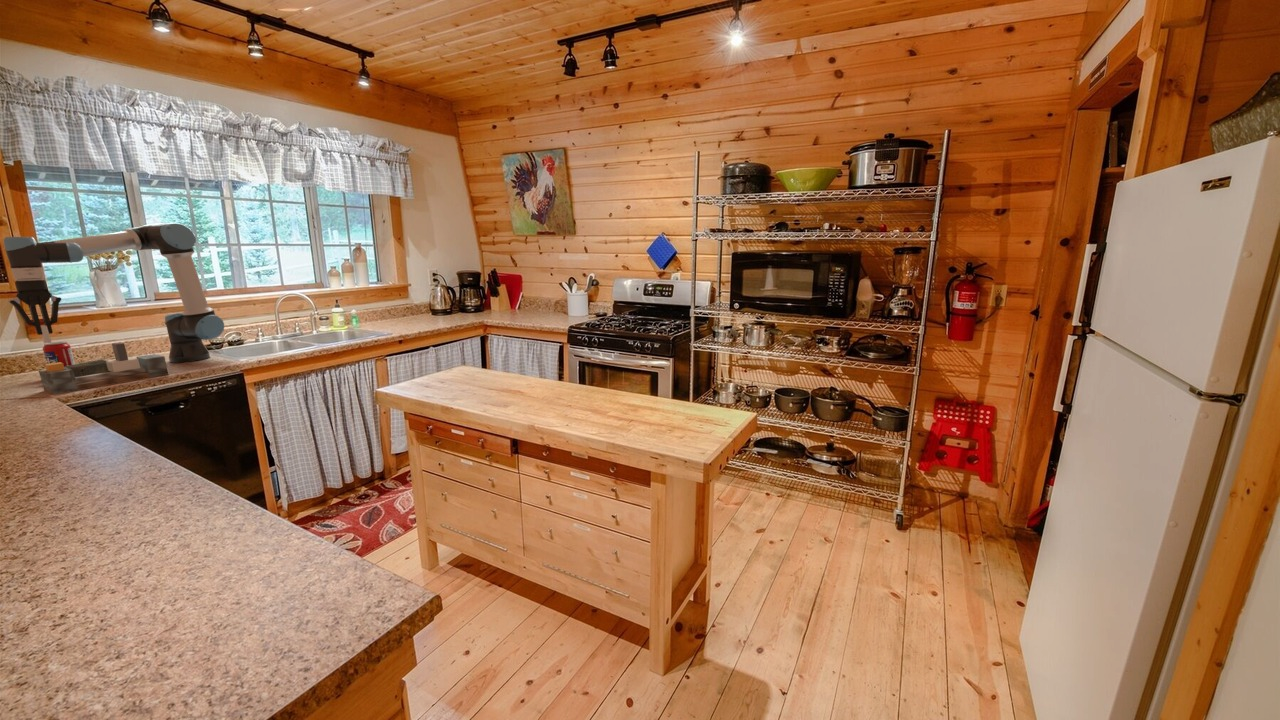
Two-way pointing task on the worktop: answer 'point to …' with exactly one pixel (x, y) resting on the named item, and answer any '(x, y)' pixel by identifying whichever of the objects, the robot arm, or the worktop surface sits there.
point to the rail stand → (102, 376)
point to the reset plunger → (54, 367)
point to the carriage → (121, 359)
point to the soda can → (58, 353)
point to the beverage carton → (89, 368)
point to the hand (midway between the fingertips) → (47, 342)
